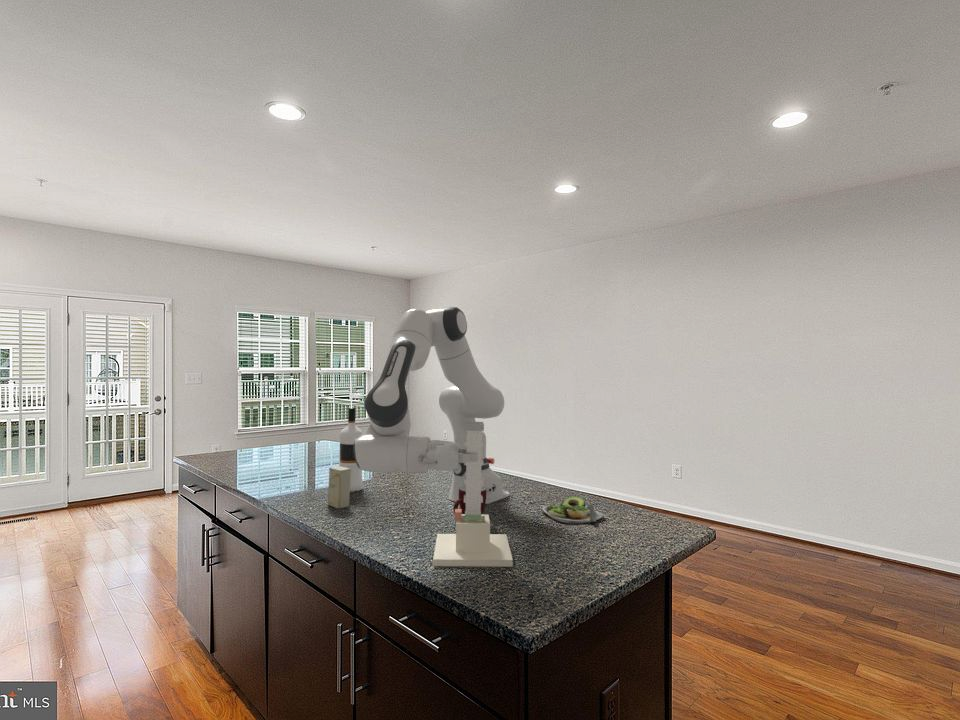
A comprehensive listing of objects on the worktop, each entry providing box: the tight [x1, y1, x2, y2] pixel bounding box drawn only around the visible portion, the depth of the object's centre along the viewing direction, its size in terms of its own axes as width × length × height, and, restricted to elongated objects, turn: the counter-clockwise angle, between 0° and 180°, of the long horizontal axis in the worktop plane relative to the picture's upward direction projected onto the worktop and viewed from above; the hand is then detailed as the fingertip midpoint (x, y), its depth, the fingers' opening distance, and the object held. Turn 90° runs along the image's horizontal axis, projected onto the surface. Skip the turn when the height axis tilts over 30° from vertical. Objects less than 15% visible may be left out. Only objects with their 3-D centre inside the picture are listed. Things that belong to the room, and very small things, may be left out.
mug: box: [452, 486, 486, 515], centre depth 146 cm, size 10×8×10 cm
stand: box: [432, 508, 514, 568], centre depth 123 cm, size 18×18×10 cm
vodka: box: [338, 407, 364, 493], centre depth 185 cm, size 9×9×30 cm
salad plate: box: [541, 496, 604, 525], centre depth 155 cm, size 19×18×5 cm
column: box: [464, 421, 485, 522], centre depth 124 cm, size 6×5×24 cm
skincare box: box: [327, 465, 351, 509], centre depth 163 cm, size 6×4×12 cm
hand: (477, 455), depth 124 cm, fingers closed on column, 4 cm apart
